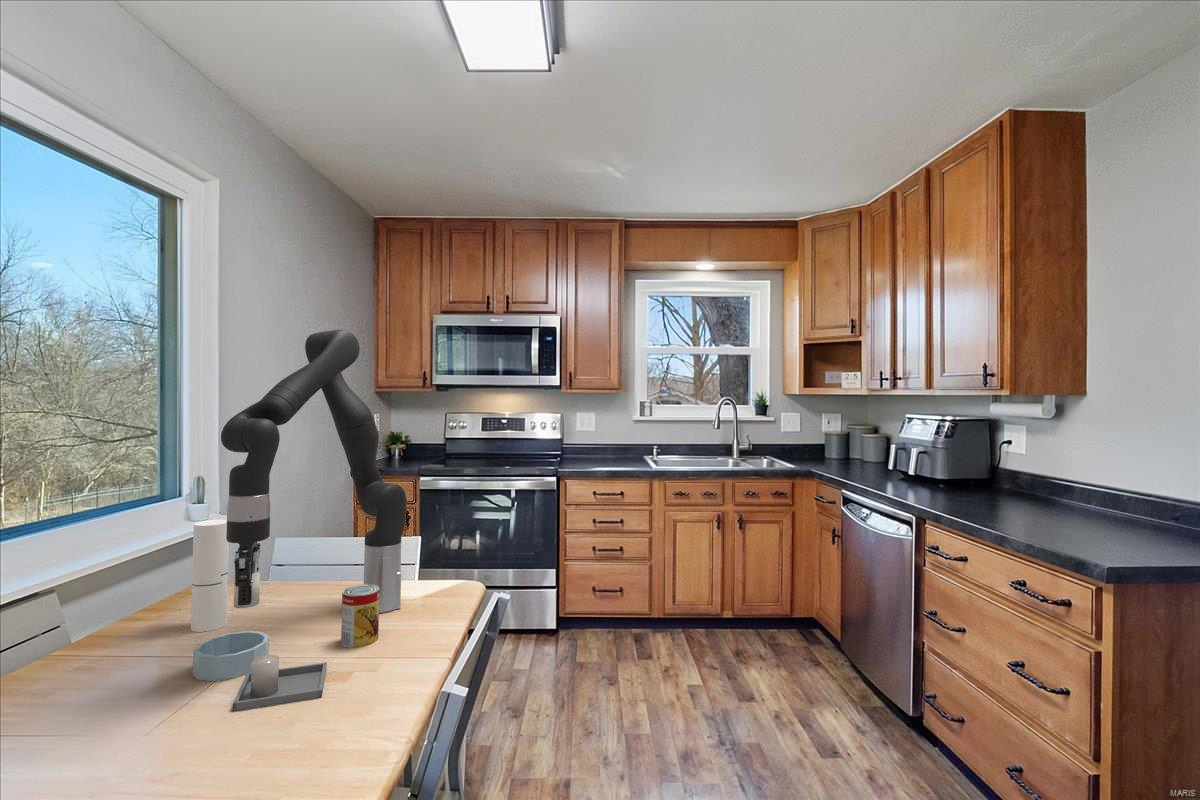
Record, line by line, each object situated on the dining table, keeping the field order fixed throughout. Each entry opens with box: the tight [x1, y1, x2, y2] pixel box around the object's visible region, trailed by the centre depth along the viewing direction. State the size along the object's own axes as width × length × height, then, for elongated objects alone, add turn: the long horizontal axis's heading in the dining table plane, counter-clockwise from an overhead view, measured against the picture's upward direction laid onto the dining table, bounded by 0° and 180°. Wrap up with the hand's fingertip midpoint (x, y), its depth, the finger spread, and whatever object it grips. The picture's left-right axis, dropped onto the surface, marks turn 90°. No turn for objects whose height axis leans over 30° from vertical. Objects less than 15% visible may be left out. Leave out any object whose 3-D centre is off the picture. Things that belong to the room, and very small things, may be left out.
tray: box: [232, 661, 328, 712], centre depth 107 cm, size 14×12×2 cm
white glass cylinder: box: [233, 571, 261, 609], centre depth 115 cm, size 4×4×6 cm
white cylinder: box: [251, 654, 280, 698], centre depth 105 cm, size 4×4×6 cm
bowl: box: [192, 630, 270, 682], centre depth 116 cm, size 13×13×5 cm
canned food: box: [340, 583, 380, 648], centre depth 129 cm, size 8×8×12 cm
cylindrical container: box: [190, 519, 230, 633], centre depth 137 cm, size 7×7×25 cm
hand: (246, 600), depth 115 cm, fingers closed on white glass cylinder, 4 cm apart
